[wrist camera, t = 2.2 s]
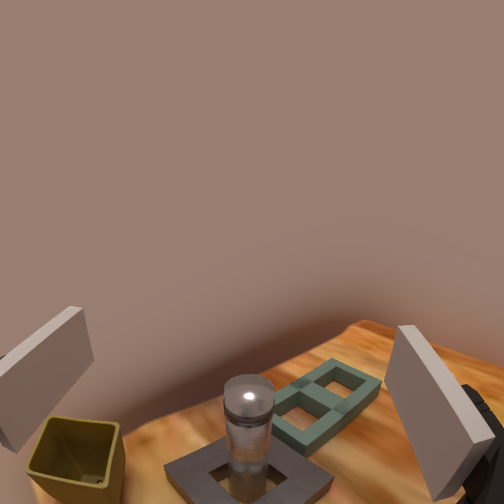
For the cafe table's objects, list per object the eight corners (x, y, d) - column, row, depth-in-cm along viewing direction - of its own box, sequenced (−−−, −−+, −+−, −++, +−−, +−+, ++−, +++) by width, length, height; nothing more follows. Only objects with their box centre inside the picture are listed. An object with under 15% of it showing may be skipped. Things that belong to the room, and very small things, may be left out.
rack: (377, 395, 44) (382, 380, 43) (303, 460, 32) (306, 446, 31) (329, 372, 51) (331, 357, 50) (249, 421, 40) (249, 406, 39)
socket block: (329, 490, 27) (334, 476, 27) (239, 556, 19) (239, 547, 18) (253, 435, 37) (253, 420, 36) (167, 479, 28) (163, 465, 28)
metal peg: (274, 491, 28) (286, 389, 24) (245, 510, 25) (246, 412, 21) (249, 471, 31) (252, 367, 27) (221, 487, 28) (212, 385, 24)
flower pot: (132, 529, 21) (106, 488, 18) (58, 516, 19) (22, 470, 17) (138, 471, 29) (120, 421, 27) (72, 463, 28) (47, 413, 25)
